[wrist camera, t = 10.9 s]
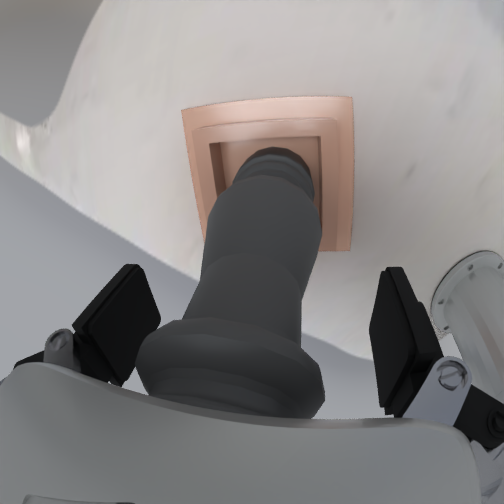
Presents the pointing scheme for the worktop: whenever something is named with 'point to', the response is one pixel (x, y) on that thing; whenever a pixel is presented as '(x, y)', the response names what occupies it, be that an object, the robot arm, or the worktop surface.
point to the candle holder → (247, 301)
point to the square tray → (278, 135)
